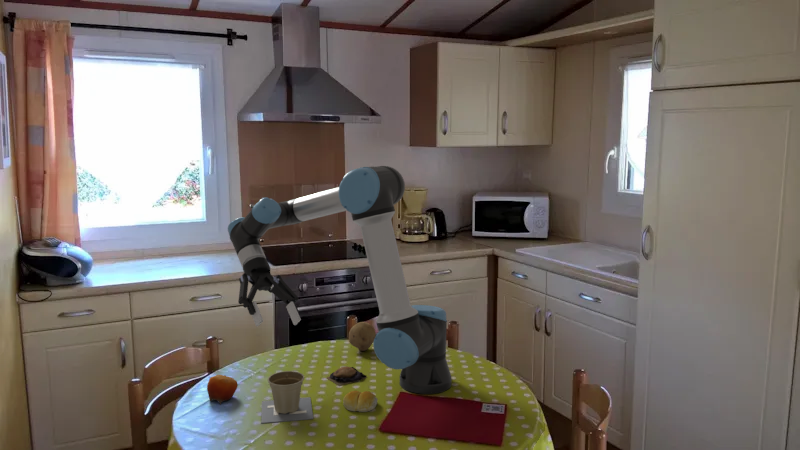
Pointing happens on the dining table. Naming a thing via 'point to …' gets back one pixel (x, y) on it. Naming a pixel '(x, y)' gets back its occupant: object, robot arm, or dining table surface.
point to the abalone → (346, 376)
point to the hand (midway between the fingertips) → (279, 323)
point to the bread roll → (360, 401)
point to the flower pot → (286, 390)
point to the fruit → (221, 388)
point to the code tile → (272, 416)
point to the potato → (362, 335)
